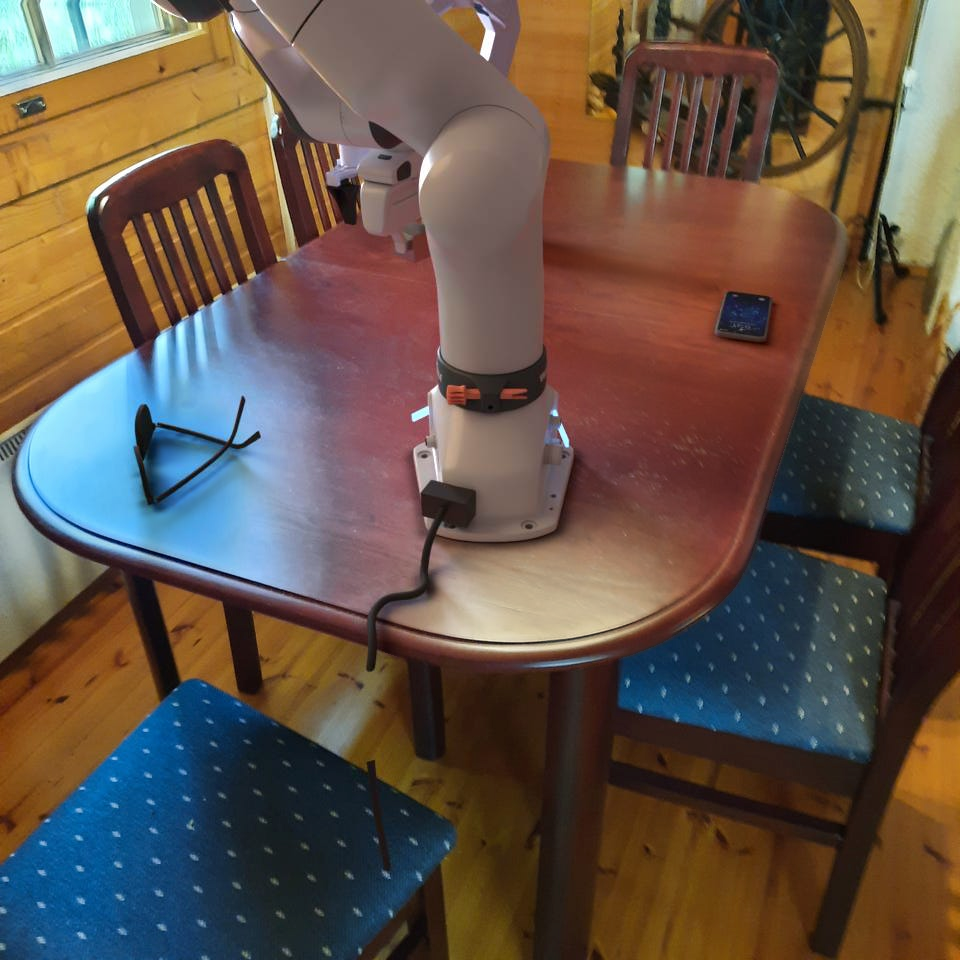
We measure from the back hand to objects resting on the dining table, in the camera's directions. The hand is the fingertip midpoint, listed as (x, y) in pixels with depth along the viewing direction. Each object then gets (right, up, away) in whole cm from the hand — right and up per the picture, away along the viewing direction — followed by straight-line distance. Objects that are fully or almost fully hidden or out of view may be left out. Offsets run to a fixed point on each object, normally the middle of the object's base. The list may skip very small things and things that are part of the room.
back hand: (364, 216), depth 146 cm
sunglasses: (-13, -43, -44) cm, 63 cm away
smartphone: (+59, -21, -18) cm, 66 cm away
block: (+9, -9, -10) cm, 17 cm away
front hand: (+9, -8, -11) cm, 17 cm away
